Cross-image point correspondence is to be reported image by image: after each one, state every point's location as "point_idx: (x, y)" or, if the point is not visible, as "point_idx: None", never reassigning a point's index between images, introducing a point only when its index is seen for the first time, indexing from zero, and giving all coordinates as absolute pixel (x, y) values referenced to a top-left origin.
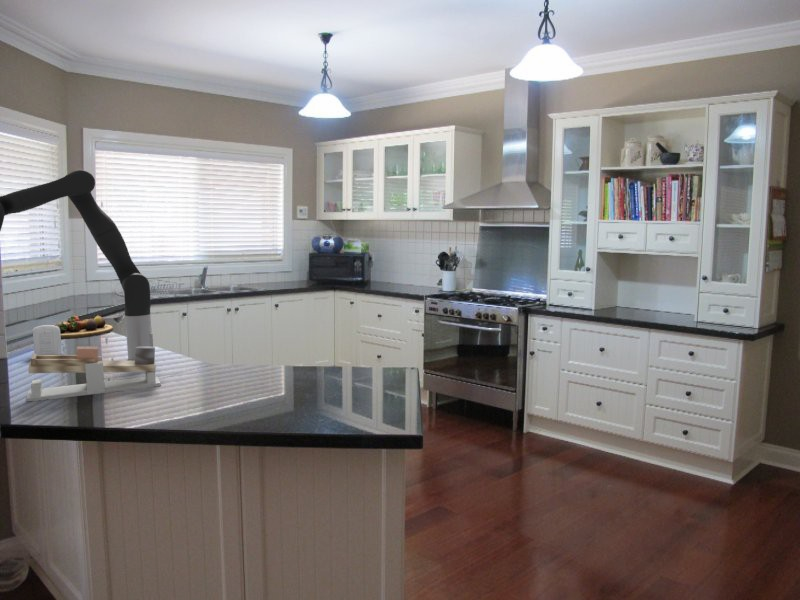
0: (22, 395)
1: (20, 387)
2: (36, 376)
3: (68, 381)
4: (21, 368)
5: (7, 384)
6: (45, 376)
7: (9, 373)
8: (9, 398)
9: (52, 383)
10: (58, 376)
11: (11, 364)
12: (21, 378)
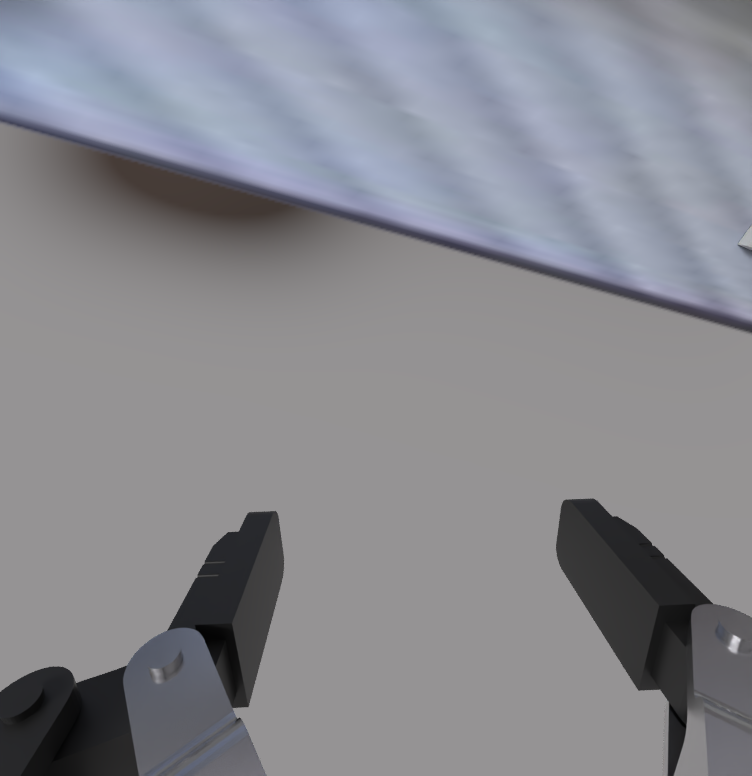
0: (739, 273)
1: (607, 238)
2: (454, 106)
3: (722, 16)
4: (181, 96)
5: (503, 260)
6: (494, 68)
7: (275, 186)
8: (730, 317)
9: (677, 103)
10: (558, 8)
11: (21, 102)
12: (437, 179)
